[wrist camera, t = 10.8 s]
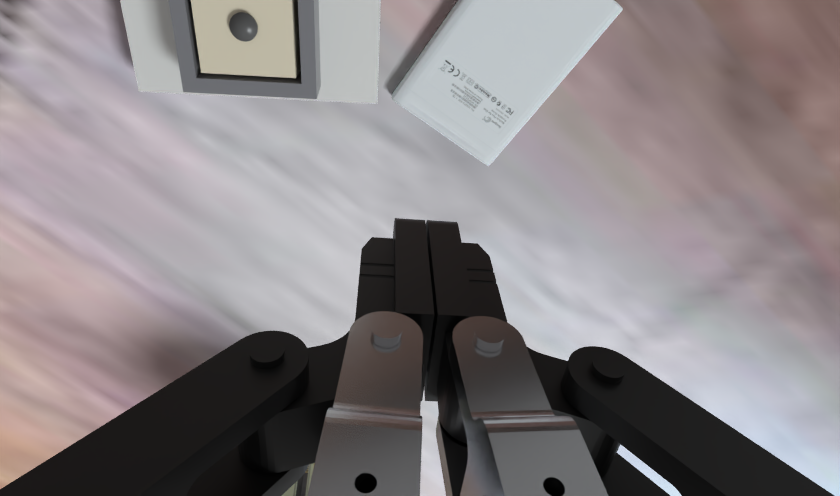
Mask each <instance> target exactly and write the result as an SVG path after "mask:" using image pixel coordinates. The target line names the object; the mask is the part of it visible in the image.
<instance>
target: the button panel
mask: <svg viewBox="0 0 840 496" xmlns="http://www.w3.org/2000/svg"><path fill="white" fill-rule="evenodd" d="M120 3H121V8H122V13H123V17H124V22H125V27H126V32H127V37H128V41H129V46H130V51H131V56H132V61H133V66H134V70H135V75H136V80H137V85H138V90H139V92H156V93H175V94H194V95H214V96H233V97H252V98H272V99H291V100H310V101H330V102H349V103H368V104H377V103H378V70H379V38H380V5H381V0H298V16H299V38H300V60H301V68H300V70H299V72H298V74H297V77H296V78H284V77H266V76H248V75H230V74H212V73H201V68H200V61H199V54H198V47H197V40H196V33H195V26H194V19H193V12H192V5H191V0H120Z"/></svg>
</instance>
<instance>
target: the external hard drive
mask: <svg viewBox="0 0 840 496" xmlns="http://www.w3.org/2000/svg"><path fill="white" fill-rule="evenodd" d="M622 10H623V8H622V7H621V6H620V5H619V4H618V3H617V2H616V1H615V0H458V1H457V3H456V4H455V5H454V7H453V8H452V10H451V11H450V12H449V14H448V15H447V17H446V18H445V19H444V21H443V22H442V24H441V25H440V27H439V28H438V30H437V31H436V32H435V34H434V35H433V37H432V38H431V39H430V41H429V42H428V44H427V45H426V47H425V48H424V49H423V51H422V52H421V54H420V55H419V57H418V58H417V59H416V61H415V62H414V64H413V65H412V67H411V68H410V69H409V71H408V72H407V74H406V75H405V77H404V78H403V79H402V81H401V82H400V83H399V85H398V86H397V88H396V89H395V90H394V92H393V93H392V100H393V101H395V102H396V103H397V104H398V105H400V106H401V107H403V108H404V109H406V110H407V111H409V112H410V113H411V114H413V115H414V116H416V117H417V118H419V119H420V120H422V121H423V122H425V123H426V124H428V125H429V126H430V127H432V128H433V129H435V130H436V131H438V132H439V133H440V134H442V135H443V136H445V137H446V138H448V139H449V140H450V141H452V142H453V143H455V144H456V145H458V146H459V147H460V148H462V149H463V150H465V151H466V152H468V153H469V154H471V155H472V156H473V157H475V158H476V159H478V160H479V161H481V162H482V163H483V164H485V165H487V166H489V165H490V164H491V163H492V162H493V161H494V160H495V159H496V157H497V156H498V155H499V154H500V153H501V151H502V150H503V149H504V148H505V147H506V146H507V145H508V143H509V142H510V141H511V140H512V139H513V138H514V136H515V135H516V134H517V133H518V132H519V131H520V130H521V128H522V127H523V126H524V125H525V124H526V123H527V121H528V120H529V119H530V118H531V117H532V116H533V114H534V113H535V112H536V111H537V110H538V108H539V107H540V106H541V105H542V104H543V103H544V101H545V100H546V99H547V98H548V97H549V96H550V94H551V93H552V92H553V91H554V90H555V89H556V88H557V86H558V85H559V84H560V83H561V82H562V80H563V79H564V78H565V77H566V76H567V75H568V73H569V72H570V71H571V70H572V69H573V68H574V66H575V65H576V64H577V63H578V62H579V61H580V59H581V58H582V57H583V56H584V55H585V54H586V52H587V51H588V50H589V49H590V48H591V46H592V45H593V44H594V43H595V42H596V41H597V39H598V38H599V37H600V36H601V35H602V33H603V32H604V31H605V30H606V29H607V28H608V26H609V25H610V24H611V23H612V22H613V21H614V19H615V18H616V17H617V16H618V15H619V14H620V12H621V11H622Z"/></svg>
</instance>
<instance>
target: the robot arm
mask: <svg viewBox="0 0 840 496" xmlns="http://www.w3.org/2000/svg"><path fill="white" fill-rule="evenodd" d="M424 390H425V401H438V409H439V416H438V422H437V428H436V437H437V443H438V449H439V455H440V461H441V467H442V473H443V479H444V485H445V491H446V496H670V495H669V494H668V493H666V492H665V491H664V490H663V489H661V488H660V487H659V486H658V485H656V484H655V483H654V482H653V481H651V480H650V479H649V478H648V477H646V476H645V475H644V474H643V473H641V472H640V471H639V470H638V469H636V468H635V467H634V466H633V465H631V464H630V463H629V462H628V461H626V460H625V459H624V458H623V457H621V456H620V455H619V454H618V453H616V452H617V450H618V448H619V446H620V444H621V445H622V446H624V447H625V448H626V449H627V450H629V451H630V452H631V453H633V454H634V455H635V456H636V457H638V458H639V459H640V460H641V461H643V462H644V463H645V464H647V465H648V466H649V467H650V468H652V469H653V470H654V471H655V472H657V473H658V474H659V475H661V476H662V477H663V478H664V479H666V480H667V481H668V482H670V483H671V484H672V485H673V486H674V487H675V488H676V489H677V490H678V491H679V492H680V494H681V495H682V496H834V495H832V494H831V493H829V492H828V491H826V490H825V489H823V488H822V487H820V486H819V485H817V484H816V483H814V482H813V481H811V480H810V479H808V478H807V477H805V476H804V475H802V474H801V473H799V472H798V471H796V470H795V469H793V468H792V467H790V466H789V465H787V464H786V463H784V462H783V461H781V460H780V459H778V458H777V457H775V456H774V455H772V454H771V453H769V452H768V451H766V450H765V449H763V448H762V447H760V446H759V445H757V444H756V443H754V442H753V441H751V440H750V439H748V438H747V437H745V436H744V435H742V434H741V433H739V432H738V431H736V430H735V429H733V428H732V427H730V426H729V425H727V424H726V423H724V422H723V421H721V420H720V419H718V418H717V417H715V416H714V415H712V414H711V413H709V412H708V411H706V410H705V409H703V408H702V407H700V406H699V405H697V404H696V403H694V402H693V401H691V400H690V399H688V398H687V397H685V396H684V395H682V394H681V393H679V392H678V391H676V390H675V389H673V388H672V387H670V386H669V385H667V384H666V383H664V382H663V381H661V380H660V379H658V378H657V377H655V376H654V375H652V374H651V373H649V372H648V371H646V370H645V369H643V368H642V367H640V366H639V365H637V364H636V363H634V362H633V361H631V360H630V359H628V358H627V357H625V356H623V355H622V354H620V353H618V352H616V351H613V350H610V349H607V348H603V347H596V346H589V347H583V348H580V349H578V350H576V351H574V352H573V353H572V354H571V356H570V357H569V360H568V361H565V360H562V359H558V358H554V357H551V356H547V355H544V354H541V353H538V352H536V351H534V350H531V349H530V348H528V347H526V344H525V342H524V339H523V337H522V336H521V334H520V333H519V332H518V330H516V329H515V328H514V327H513V326H512V325H510V324H509V323H507V319H506V316H505V312H504V308H503V305H502V301H501V297H500V293H499V290H498V286H497V284H496V279H495V275H494V273H493V268H492V264H491V260H490V256H489V255H488V254H487V253H486V252H485V251H484V250H483V249H482V248H481V247H480V246H479V245H478V244H474V243H461V238H460V233H459V227H458V223H457V222H446V221H431V220H427V222H426V224H425V220H414V219H398V218H395V221H394V231H393V239H391V238H374V237H372V238H371V239H370V240H369V241H368V242H367V244H366V245H365V246H364V247H363V248H362V253H361V265H360V275H359V286H358V296H357V307H356V318H355V322H354V323H353V325H352V326H351V328H350V331H349V332H348V333H347V334H346V335H344V336H343V337H342V338H340V339H338V340H336V341H334V342H331V343H329V344H325V345H321V346H316V347H311V348H307V347H306V345H305V344H304V343H303V342H302V340H300V339H299V338H298V337H296V336H294V335H292V334H289V333H286V332H281V331H264V332H258V333H254V334H252V335H249V336H247V337H245V338H243V339H241V340H239V341H238V342H236V343H235V344H233V345H231V346H230V347H228V348H227V349H225V350H223V351H222V352H220V353H219V354H217V355H215V356H214V357H212V358H211V359H209V360H207V361H206V362H204V363H202V364H201V365H199V366H198V367H196V368H194V369H193V370H191V371H190V372H188V373H186V374H185V375H183V376H182V377H180V378H178V379H177V380H175V381H174V382H172V383H170V384H169V385H167V386H166V387H164V388H162V389H161V390H159V391H158V392H156V393H154V394H153V395H151V396H150V397H148V398H146V399H145V400H143V401H141V402H140V403H138V404H137V405H135V406H133V407H132V408H130V409H129V410H127V411H125V412H124V413H122V414H121V415H119V416H117V417H116V418H114V419H113V420H111V421H109V422H108V423H106V424H105V425H103V426H101V427H100V428H98V429H97V430H95V431H93V432H92V433H90V434H89V435H87V436H85V437H84V438H82V439H80V440H79V441H77V442H76V443H74V444H72V445H71V446H69V447H68V448H66V449H64V450H63V451H61V452H60V453H58V454H56V455H55V456H53V457H52V458H50V459H48V460H47V461H45V462H44V463H42V464H40V465H39V466H37V467H36V468H34V469H32V470H31V471H29V472H27V473H26V474H24V475H23V476H21V477H19V478H18V479H16V480H15V481H13V482H11V483H10V484H8V485H7V486H5V487H3V488H2V489H0V496H282V495H283V494H284V493H285V492H286V491H287V490H288V489H289V488H290V487H291V486H292V485H293V484H295V483H296V482H297V481H298V480H299V479H300V478H301V477H302V476H303V474H304V473H305V472H306V470H307V468H308V466H309V464H313V463H315V464H314V469H313V473H312V477H311V482H310V486H309V490H308V495H307V496H420V472H421V445H422V416H420V402H421V401H422V398H423V391H424Z"/></svg>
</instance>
